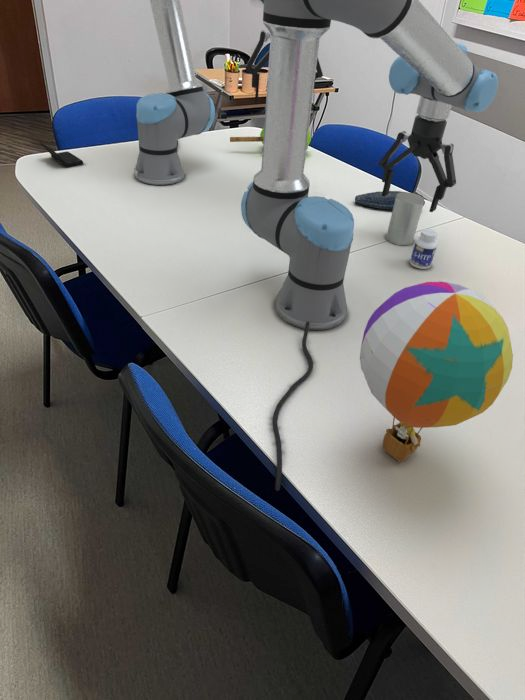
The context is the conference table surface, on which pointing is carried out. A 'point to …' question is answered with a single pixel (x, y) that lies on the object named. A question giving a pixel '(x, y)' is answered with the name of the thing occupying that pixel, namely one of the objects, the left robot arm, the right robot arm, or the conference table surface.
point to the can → (404, 218)
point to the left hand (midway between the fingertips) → (281, 103)
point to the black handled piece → (64, 157)
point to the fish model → (378, 199)
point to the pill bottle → (424, 249)
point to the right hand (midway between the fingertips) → (408, 202)
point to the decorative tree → (260, 138)
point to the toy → (434, 359)
